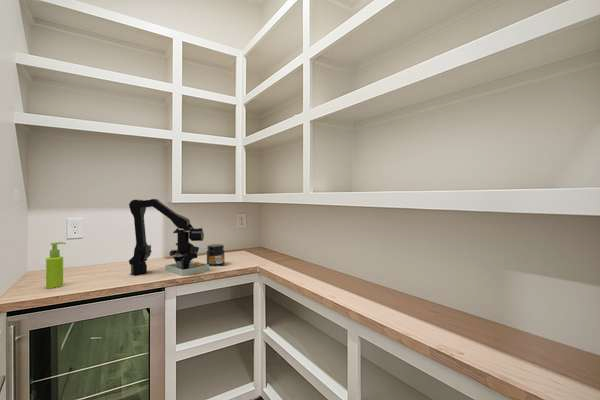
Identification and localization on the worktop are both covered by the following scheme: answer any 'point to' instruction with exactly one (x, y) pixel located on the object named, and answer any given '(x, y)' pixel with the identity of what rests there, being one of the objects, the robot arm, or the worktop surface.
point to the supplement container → (215, 255)
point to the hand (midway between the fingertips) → (183, 270)
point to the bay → (197, 269)
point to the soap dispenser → (54, 267)
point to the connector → (180, 265)
